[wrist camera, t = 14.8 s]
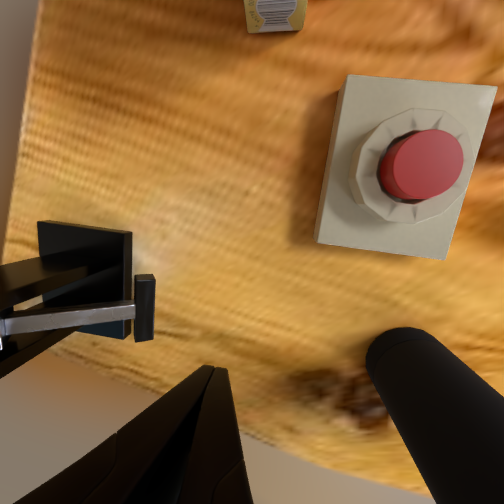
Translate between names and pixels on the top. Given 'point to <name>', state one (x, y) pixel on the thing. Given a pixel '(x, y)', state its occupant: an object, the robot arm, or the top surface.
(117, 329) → the bracket
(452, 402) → the black bottle
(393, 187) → the button
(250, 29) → the candy box
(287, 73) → the top surface
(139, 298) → the lever
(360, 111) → the button box
